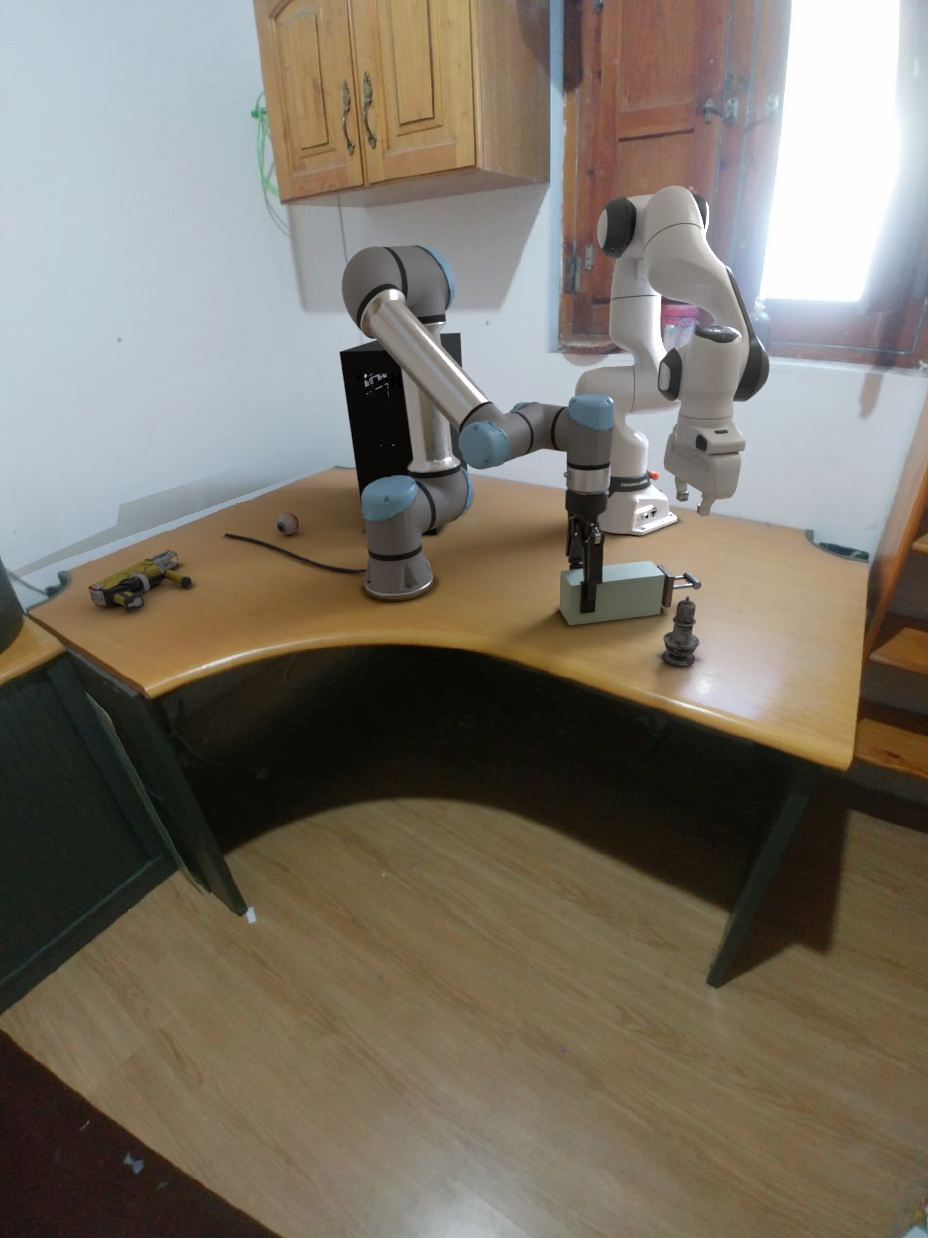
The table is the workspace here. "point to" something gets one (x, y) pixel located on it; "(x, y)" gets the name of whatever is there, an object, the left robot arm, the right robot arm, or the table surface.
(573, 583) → the cabinet
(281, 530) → the eyeball
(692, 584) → the drawer
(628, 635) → the table surface
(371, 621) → the table surface
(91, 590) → the toy gun
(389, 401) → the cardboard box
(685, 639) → the salt shaker
